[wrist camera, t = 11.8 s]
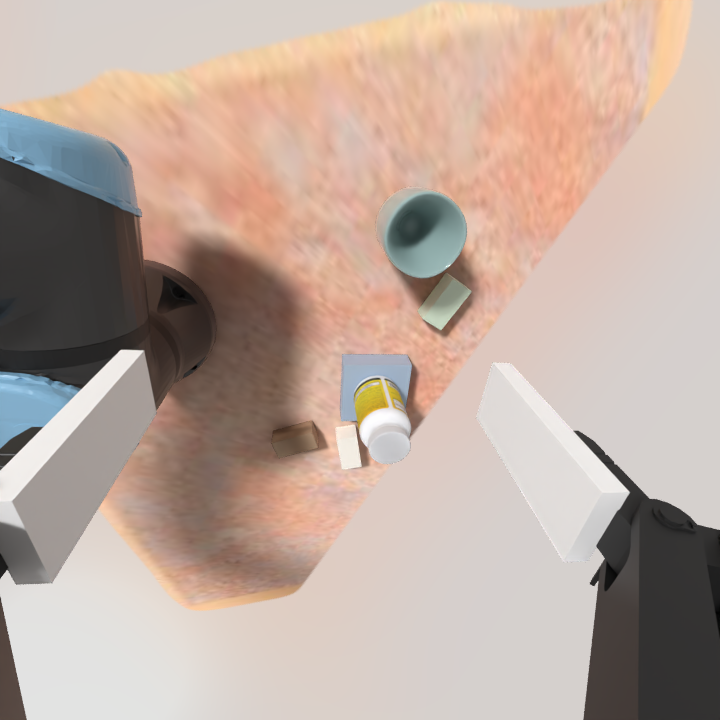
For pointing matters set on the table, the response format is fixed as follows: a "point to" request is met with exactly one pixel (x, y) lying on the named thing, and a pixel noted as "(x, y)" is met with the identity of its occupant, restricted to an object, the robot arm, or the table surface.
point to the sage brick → (443, 301)
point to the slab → (371, 365)
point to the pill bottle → (382, 419)
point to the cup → (420, 231)
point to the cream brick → (348, 447)
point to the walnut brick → (295, 439)
